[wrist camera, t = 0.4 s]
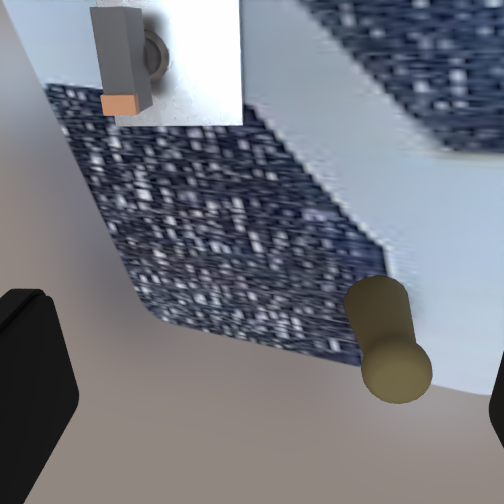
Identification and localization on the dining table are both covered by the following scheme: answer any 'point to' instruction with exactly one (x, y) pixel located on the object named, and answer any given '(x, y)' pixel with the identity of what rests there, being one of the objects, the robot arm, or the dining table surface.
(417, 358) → the cork
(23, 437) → the robot arm
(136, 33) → the knob
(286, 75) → the dining table surface
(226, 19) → the plate
